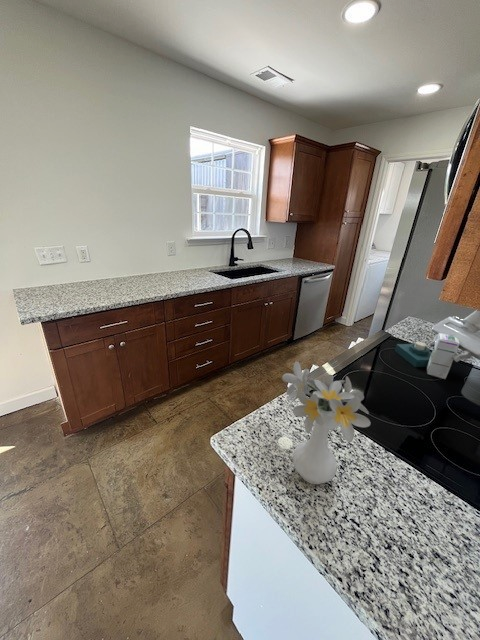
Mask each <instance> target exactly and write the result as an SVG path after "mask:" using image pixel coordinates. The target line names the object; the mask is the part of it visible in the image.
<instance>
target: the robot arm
mask: <svg viewBox="0 0 480 640" xmlns="http://www.w3.org/2000/svg"><path fill="white" fill-rule="evenodd" d="M477 310H478V309H476V310H474V311H472V312H471V313H470V314H469V315H467V316H466V317H464V318H460V317H458V316H456V315H454V316H447V317H446V318H445V319H442V320H440V321H438V322H437V323H436V324H434V325H433V326H432V328H431V331H432V333H433V334H434V337H433V340H432V341H430V342H429V346H430V347H433V348H434V345H435V342H436V339H437V337H438V334H439V333H441V334H448V335H452V336H454V337H456V338H457V339H458V340H459V343H460V344H459V346H458V349H460V350H461V351H463V352H462V353H460V354H457V353H456V354H455V355H454V356H452V357H451V358H452V359H453V362H455V363H458V362H459V361H461V360H465V359H466V360H467V359H470V358H471V357H474V358H475V359H477V360H478V361H480V311H477Z"/></svg>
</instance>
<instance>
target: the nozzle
mask: <svg viewBox="0 0 480 640" xmlns="http://www.w3.org/2000/svg"><path fill="white" fill-rule="evenodd" d="M414 343H415V345H414V347H415V348H416V349H419V350H425V348H426V347H427V343H425V342H423V341H415V342H414Z"/></svg>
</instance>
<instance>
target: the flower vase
mask: <svg viewBox="0 0 480 640" xmlns="http://www.w3.org/2000/svg"><path fill="white" fill-rule="evenodd" d="M292 370H293V373H289V372H288V373H283V374H282V376H281V379H282V381H283V382H285V383H288V384H290V385H289V386H288V387H287V389H286V395H287V397H286V401H290V400H291V401H290V402H291V403H293V402H295V401H296V400H297V399H298V400H299V402H300V403H301V404H300V405H296V406H294V407H293V409H292V414H293V415H294V416H296V417H298V418H303V417H305V418H304V422H303V423H304V430H305V432H306V434H310V433H311V434H310V437H309V439H307V440H303V441H302V442H300V443H298V444H297V446H296V447H295V448H294V451H293V452H292V462H293V467H294V468H295V470H296V472H297V473H298V474H299V476H300V477H301V478H302V479H303V480H304V481H305V482H307V483H308V484H310V485H323V484H326V483H329V482H330V481H332V480H333V479H334V478H335V476H336V474H337V470H338V464H337V458H336V457H335V454H334V453H333V451H332V450H331V448H329V446H328V439H329V433H330V430H334V429H338V428H339V427H340V431H341V434H342V437H343V439H344V440H345V441H346V442H347V443H351V442H352V441H353V440H354V437H355V429H354V426H355V427H359V428H368V427H370V426H371V421H370V419H369V418H368V417H367V416H365V415H362V414H360V413H357V411H359V410H360V411H362V412H363V413H365V414H367V415H370V412H369V410H368V409H367V408H366V407H365V406H364V405H363V404H362V402H363V400H364V399H365V395H364V394H363V392H362V391H360V390H357V389H354V390H352V389H353V388H352V387H353V386H352V385H353V384H352V382H351V380H350V377H349V376H347V375H345V380H344V379H342V380H341V379H339V380H334V378H335V377H334V375H333V374H327V375H325V376H324V377H323V378H322V381H321V380H319V379H312V378H309V379H308V377H309V374H310V369H309V368H305V369H304V370H302V367H301V364H300V362H299V361H295V362H293V369H292ZM342 384H343V391H341V390H342ZM309 390H313V391H314V392H313V391H312V393H311V392H309ZM307 395H308V396H309V397H308V396H307ZM343 403H346V404H345V405H344V404H343Z"/></svg>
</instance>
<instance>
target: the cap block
mask: <svg viewBox="0 0 480 640" xmlns="http://www.w3.org/2000/svg"><path fill="white" fill-rule="evenodd" d="M415 343H416V342H413V343H397V344H395V348H394V352H395V353H397V354H398V355H399V356H400V357H402V358H403V359H404V360H405V361H406V362H408V363H409V364H410V365H411V366H413V367H414V368H427V365H428V362H429V359H430V356H431V353H432V351H431V350H430V347H428V346H426V348H425V350H419V349H416V348H415V347H414V345H415Z"/></svg>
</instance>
